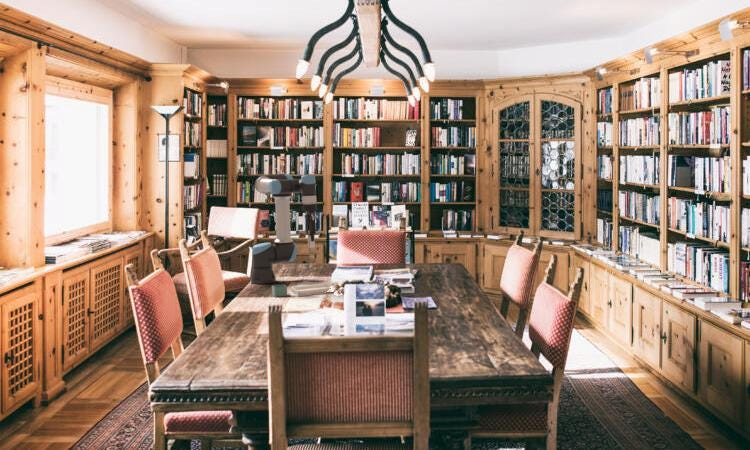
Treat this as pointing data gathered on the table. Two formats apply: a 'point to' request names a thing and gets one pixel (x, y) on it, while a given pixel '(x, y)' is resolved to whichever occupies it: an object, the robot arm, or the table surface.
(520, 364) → the table surface
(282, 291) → the pen cup
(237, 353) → the table surface
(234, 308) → the table surface
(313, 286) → the tray
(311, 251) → the dowel
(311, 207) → the robot arm
